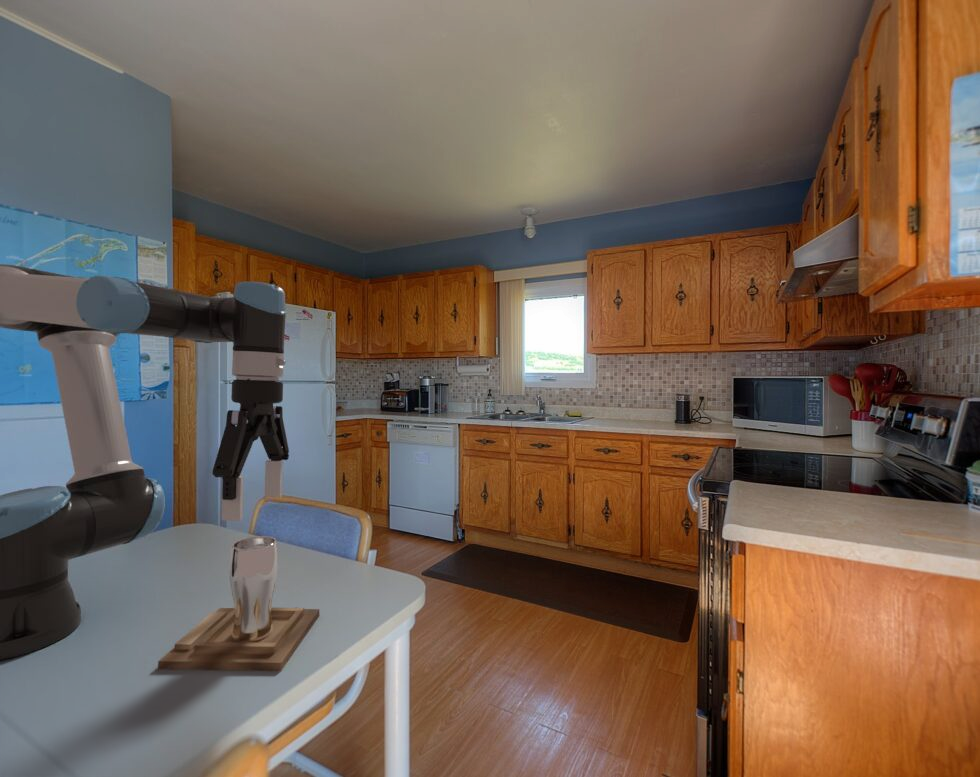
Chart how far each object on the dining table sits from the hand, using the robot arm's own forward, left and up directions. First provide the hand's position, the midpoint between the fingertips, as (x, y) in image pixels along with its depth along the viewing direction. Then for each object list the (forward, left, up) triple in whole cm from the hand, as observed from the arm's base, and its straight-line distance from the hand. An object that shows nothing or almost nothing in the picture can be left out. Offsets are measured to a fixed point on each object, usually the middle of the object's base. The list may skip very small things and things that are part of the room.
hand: (254, 507), depth 75 cm
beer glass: (0, 0, -21) cm, 21 cm away
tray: (-1, 0, -22) cm, 22 cm away
